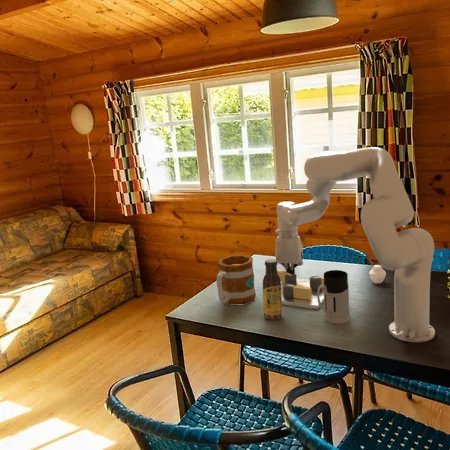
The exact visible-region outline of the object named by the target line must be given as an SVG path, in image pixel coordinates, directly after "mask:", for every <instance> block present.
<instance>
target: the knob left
mask: <svg viewBox="0 0 450 450" xmlns="http://www.w3.org/2000/svg"><path fill="white" fill-rule="evenodd" d="M277 274H278V275H279V277H280V281H281V283H285V284H294V285H295V286H296V285H297V279H296V278H297V274H296V273H295V274H293V273H287V272H286V270H283V269H277Z"/></svg>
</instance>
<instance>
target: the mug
mask: <svg viewBox="0 0 450 450" xmlns="http://www.w3.org/2000/svg"><path fill="white" fill-rule="evenodd" d="M253 260H254V257H252V256H249V255H245V254H238V255H236V254H231V255H228V256H224V257H222V258H219V259H218V262H217V267H218V271H219V272H218V274H217V275H216V286H217V293H218V300H219V302H220V303H222V304H226V303H228V304H245V305H247V304H249V303H248V302H250V303H252V302H254V300H255V301H256V297H255V296H256V289H255V273H254V266H253V265H254V264H253V262H254V261H253ZM251 301H252V302H251ZM246 303H247V304H246ZM228 304H227V305H228Z"/></svg>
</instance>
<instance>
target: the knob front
mask: <svg viewBox="0 0 450 450" xmlns="http://www.w3.org/2000/svg"><path fill="white" fill-rule="evenodd" d="M283 297H284V298H287V299H291V298H298V299H306V300H311V299H312V291H311V288H310V287H302V286H295V285H294V284H284V285H283Z"/></svg>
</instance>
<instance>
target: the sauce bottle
mask: <svg viewBox="0 0 450 450" xmlns="http://www.w3.org/2000/svg"><path fill="white" fill-rule="evenodd" d="M264 266H265V275H264V276H263V279H262V305H263V306H262V307H263V312H262V313H263V317H264V318H265V319H266V320H272V321H274V320H279V319H281V317H282V313H283V306H282V305H283V304H282V298H281V283H282V282H281V281H280V277H279V275H278V274H277V270H278V269H277V268H278V263H277V260H276V258H269V259H265V260H264Z"/></svg>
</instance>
